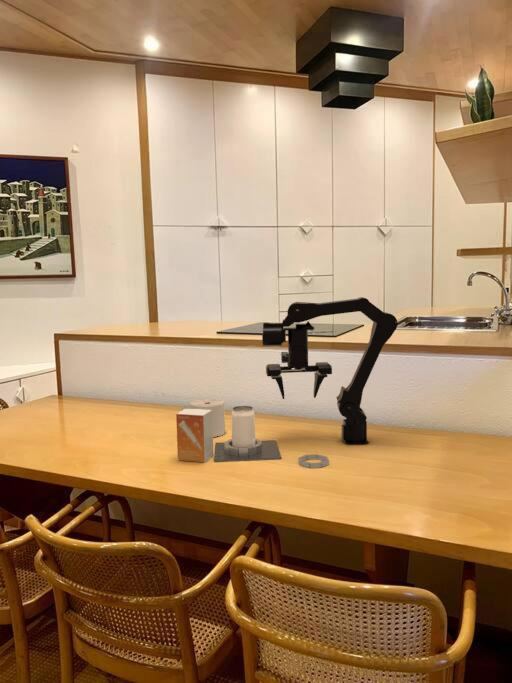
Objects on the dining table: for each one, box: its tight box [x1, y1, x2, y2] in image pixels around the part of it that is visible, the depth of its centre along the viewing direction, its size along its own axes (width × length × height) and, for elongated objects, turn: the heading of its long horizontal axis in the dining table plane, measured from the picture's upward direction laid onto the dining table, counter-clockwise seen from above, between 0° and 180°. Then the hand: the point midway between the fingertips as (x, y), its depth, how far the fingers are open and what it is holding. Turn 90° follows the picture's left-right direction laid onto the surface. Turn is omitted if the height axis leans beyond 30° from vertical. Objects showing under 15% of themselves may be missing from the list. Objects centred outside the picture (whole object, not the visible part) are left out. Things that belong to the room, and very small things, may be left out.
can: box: [230, 405, 256, 448], centre depth 148 cm, size 6×6×12 cm
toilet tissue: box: [180, 398, 226, 438], centre depth 166 cm, size 11×12×10 cm
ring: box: [297, 453, 330, 469], centre depth 137 cm, size 8×8×1 cm
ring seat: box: [213, 437, 282, 463], centre depth 148 cm, size 18×16×2 cm
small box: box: [175, 409, 214, 463], centre depth 143 cm, size 8×6×13 cm
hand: (299, 398), depth 155 cm, fingers open, 9 cm apart
